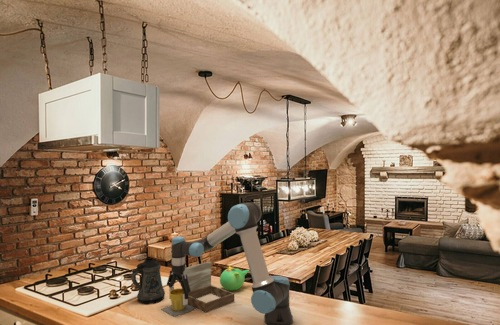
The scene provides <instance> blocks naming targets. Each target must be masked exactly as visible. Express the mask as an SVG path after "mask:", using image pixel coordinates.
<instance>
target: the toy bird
mask: <svg viewBox="0 0 500 325" xmlns="http://www.w3.org/2000/svg"><path fill="white" fill-rule="evenodd" d="M249 272H250V269H245V270H241V269H240V268H237V267H232V266H228V268H227V269H224V270H223V271H222V273H221V274H220V276H219V283H220V286H221V287H222V289H224V290H226V291H236V290H239V289H240V288H242V286H244V282H245V279H246V278H245V276H246V275H247V274H248V273H249Z"/></svg>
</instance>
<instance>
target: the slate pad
mask: <svg viewBox="0 0 500 325" xmlns="http://www.w3.org/2000/svg"><path fill="white" fill-rule="evenodd" d="M160 310H161V311H162V312H165V313H167V314H168V315H170V316H172V317H174V318H176V317H179V316H182V315H185V314H187V313H189V312H192V311H195V310H197V309H196V308H194V307H192V306H190V305H188V304H186V305H185V308H184V309H183V310H180V311H175V310H173V308H172V304H171V305H168V306H165V307H163V308H160Z"/></svg>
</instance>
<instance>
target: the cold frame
mask: <svg viewBox="0 0 500 325" xmlns="http://www.w3.org/2000/svg"><path fill="white" fill-rule="evenodd" d="M183 274H184V275H186V274H187V279H188V283H189V287H190V290H191V292H189V293H188V304H187V305H190V306H192V307H194V308H196V309H195V310H199V311H201V312H203V313H205V314H206V313H209V312H211V311H215V310H217V309H219V308H220V309H221V308H222V307H225V306H227V305H229V304H233V303H234V302H235V293H234V292H233V291H232V292H231V291H230V290H226V289H225V288H221V287H218V286H215V285H212V261H207V262H203V263H199V264H195V265H191V266H188V267H187V266H186V267H185V271H184V272H183ZM207 295H214V296H217V297H219V298H216V299H213V300H210V301H208V302H205V301H204V300H203V301H202V300H200V298H202V297H205V296H207Z"/></svg>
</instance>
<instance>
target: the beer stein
mask: <svg viewBox="0 0 500 325" xmlns="http://www.w3.org/2000/svg"><path fill="white" fill-rule="evenodd" d="M138 274H140V277H139V278H140V280H139V282H138V281H137V278H136V277H137V276H138ZM130 276H131V279H130V280H131V282H132V284H133V285H134V286H135V287H136V288H137V289H138V293H137V295H136V296H137V301H138V303H139V304H141V305H154V304H155V305H156V304H158V303H160V302H162V301H164V299H165V295H166V291H165V289H164V286H163V282H162V276H161V263H159V262H158V261H157V260H155V259H154V258H152V257H150V258H149V257H148V258H146V259H144V261H143V262H141V263H138V264H137V265H136V268H135V269H133V271H132V272H131V275H130Z"/></svg>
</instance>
